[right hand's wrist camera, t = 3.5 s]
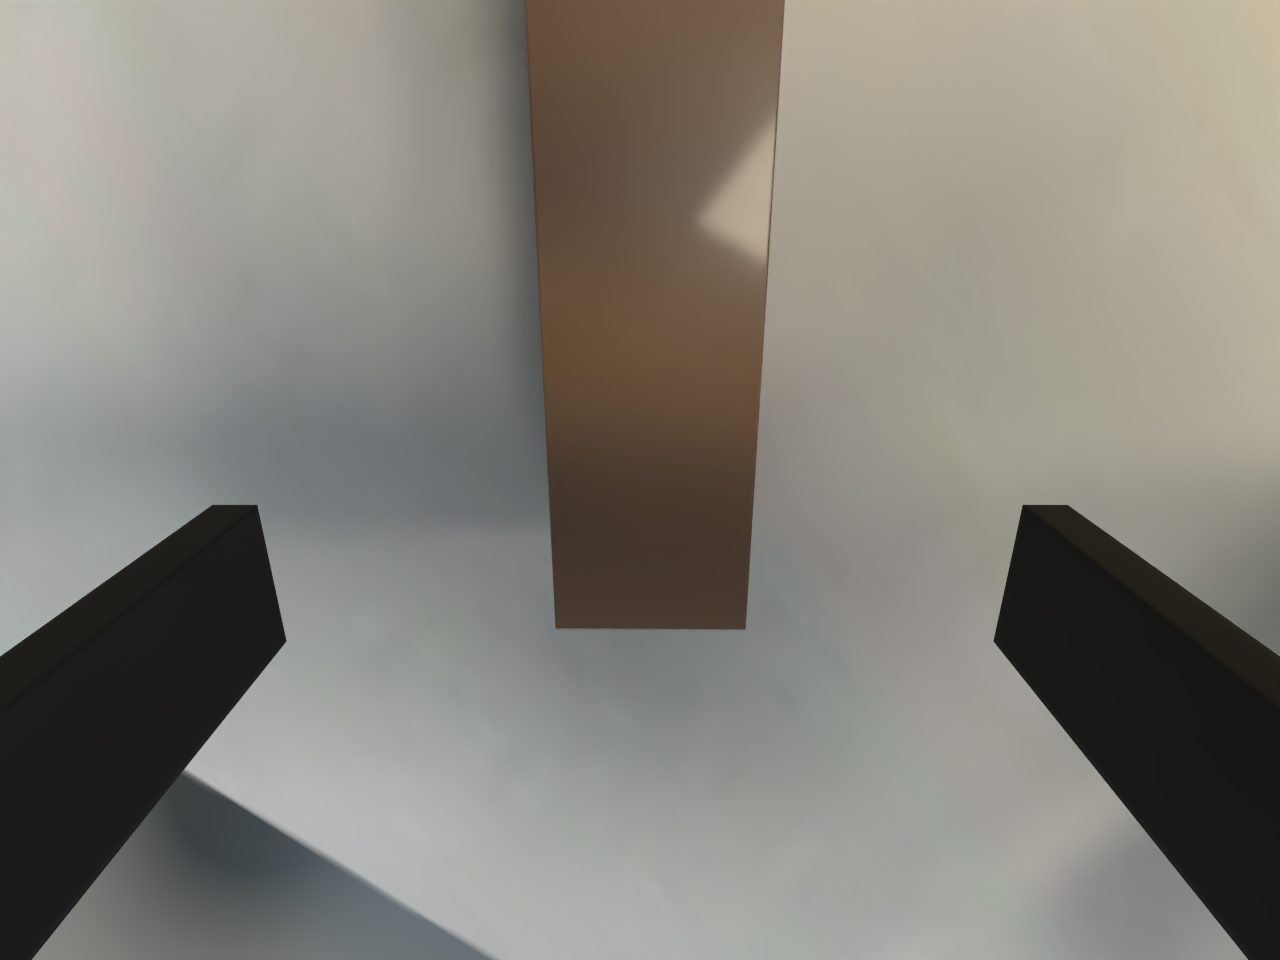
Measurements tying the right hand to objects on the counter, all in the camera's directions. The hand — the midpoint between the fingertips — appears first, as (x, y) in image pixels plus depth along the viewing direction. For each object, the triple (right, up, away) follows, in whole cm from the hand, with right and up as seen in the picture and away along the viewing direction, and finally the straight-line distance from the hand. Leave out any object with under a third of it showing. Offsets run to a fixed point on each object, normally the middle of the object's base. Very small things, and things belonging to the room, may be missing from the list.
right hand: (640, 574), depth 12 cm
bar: (0, +38, -1) cm, 38 cm away
